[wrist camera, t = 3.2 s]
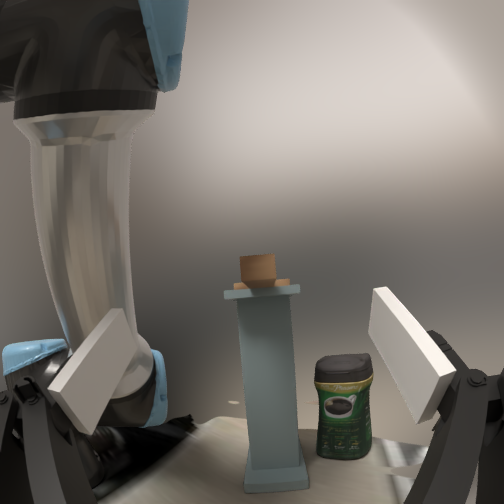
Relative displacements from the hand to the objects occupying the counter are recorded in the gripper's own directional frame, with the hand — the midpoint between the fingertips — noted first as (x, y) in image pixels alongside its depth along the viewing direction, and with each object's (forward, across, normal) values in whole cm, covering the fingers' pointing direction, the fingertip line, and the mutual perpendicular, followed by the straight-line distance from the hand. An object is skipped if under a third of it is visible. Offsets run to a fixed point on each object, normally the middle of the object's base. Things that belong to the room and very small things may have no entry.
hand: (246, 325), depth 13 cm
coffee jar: (+12, +12, -38) cm, 42 cm away
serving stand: (+10, 0, -37) cm, 38 cm away
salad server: (+20, 0, -8) cm, 22 cm away
